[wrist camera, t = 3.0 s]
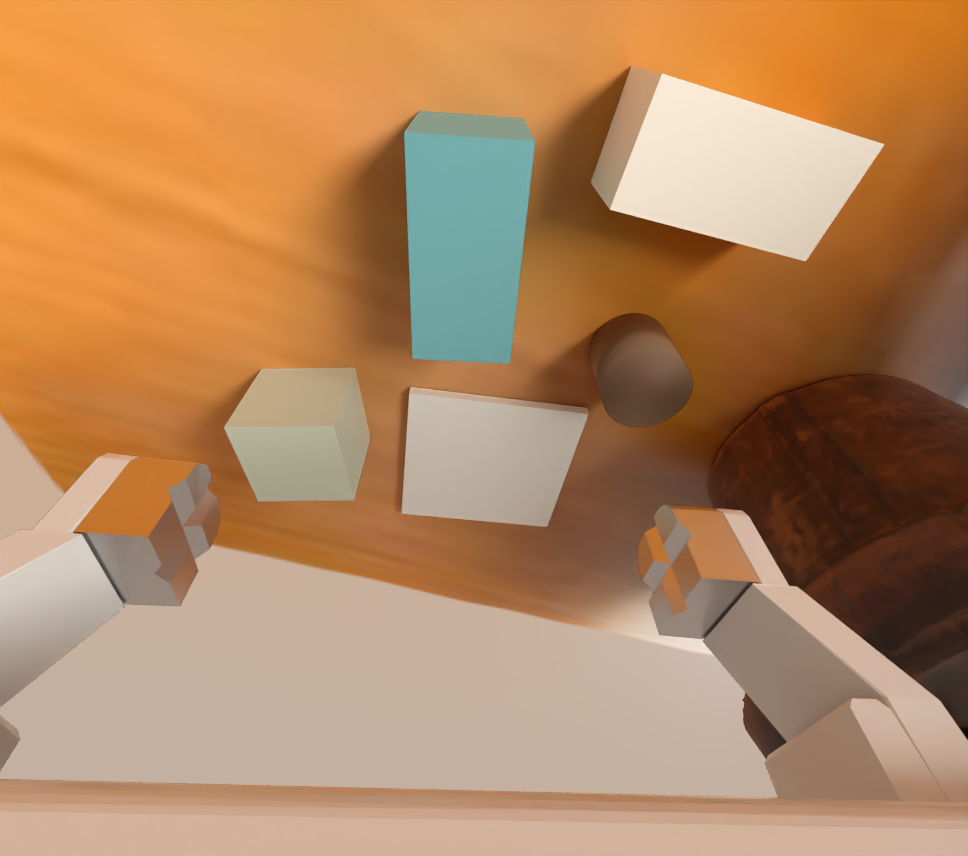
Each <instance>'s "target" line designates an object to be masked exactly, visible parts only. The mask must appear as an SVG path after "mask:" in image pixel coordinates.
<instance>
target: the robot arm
mask: <svg viewBox="0 0 968 856" xmlns="http://www.w3.org/2000/svg"><path fill="white" fill-rule="evenodd" d="M211 480H212V477H211V474H210V471H209V468H208V465H206V464H203V463H198V462H189V461H180V460H171V459H162V458H154V457H145V456H131V455H123V454H114V453H107V454H104V455H102V456H100V457H98V458H96V459H95V460H94V462H93V463H92V464H91V465H90V466H89V467H88V468H87V469H86V471H85V472H84V473H83V474H82V475H81V476H80V477H79V478H78V479H77V481H76V482H75V483H74V484H73V485H72V486H71V487H70V488H69V489H68V491H67V492H66V493H65V494H64V495H63V496H62V498H61V499H60V500H59V501H58V502H57V503H56V504H55V505H54V506H53V507H52V508H51V509H50V511H49V512H48V513H47V514H46V515H45V516H44V517H43V518H42V520H41V521H40V522H39V523H38V524H37V525H36V526H35V527H34V528H33V529H32V530H22V529H21V530H19V531H17V532H15V533H13V534H11V535H9V536H7V537H5V538H3V539H1V540H0V707H1V706H2V705H4V704H5V703H6V702H7V701H8V700H10V699H11V698H12V697H14V696H15V695H16V694H17V693H18V692H20V691H21V690H22V689H23V688H25V687H26V686H27V685H28V684H30V683H31V682H32V681H33V680H35V679H36V678H37V677H38V676H40V675H41V674H42V673H43V672H45V671H46V670H47V669H48V668H50V667H51V666H52V665H53V664H55V663H56V662H57V661H58V660H60V659H61V658H62V657H63V656H65V655H66V654H67V653H68V652H70V651H71V650H72V649H73V648H74V647H76V646H77V645H78V644H79V643H81V642H82V641H83V640H85V639H86V638H87V637H88V636H89V635H91V634H92V633H93V632H94V631H96V630H97V629H98V628H99V627H100V626H102V625H103V624H104V623H105V622H107V621H108V620H109V619H111V618H112V617H113V616H114V615H116V614H117V613H118V612H119V611H121V610H122V609H123V608H124V604H133V605H162V606H180V605H181V603H182V601H183V600H184V597H185V596H186V594H187V592H188V590H189V588H190V586H191V584H192V582H193V580H194V578H195V576H196V575H197V573H198V569H197V566H196V562H195V559H196V558H197V557H199V556H200V555H201V554H203V553H204V552H206V551H207V550H209V549H210V547H211V545H212V543H213V541H214V539H215V537H216V535H217V531H218V527H219V522H220V504H219V500H218V497H217V496H216V495H215V494H214V493H212V492H211V491H210V490H209V489H208V488H207V487H208V485H209V484H210V482H211ZM653 518H654V521H655V523H656V526H655V527H653V528H651V529H650V530H648V531H646V532H645V533H644V535H643V537H642V539H641V541H640V543H639V549H638V566H639V571H640V574H641V578H642V581H643V582H644V583H645V584H646V585H647V586H648V587H649V588H650V589H651V590H652V591H653V593H652V596H651V598H650V600H649V604H650V607H651V610H652V613H653V616H654V620H655V623H656V626H657V629H658V632H659V635H664V636H675V637H686V638H698V639H704V640H703V642H704V643H705V645H706V646H707V647H708V648H709V649H710V651H711V652H712V653H713V654H714V655H715V656H716V658H717V659H718V660H719V661H720V662H721V664H722V665H723V666H724V667H725V668H726V670H727V671H728V672H729V673H730V674H731V676H732V677H733V678H734V679H735V680H736V682H737V683H738V684H739V685H740V686H741V687H742V689H743V690H744V691H745V692H746V694H747V695H748V696H749V697H750V698H751V699H752V701H753V702H754V703H755V704H756V705H757V707H758V708H759V709H760V710H761V711H762V713H763V714H764V715H765V716H766V717H767V719H768V720H769V721H770V722H771V723H772V725H773V726H774V727H775V728H776V729H777V731H778V732H779V733H780V734H781V735H782V737H783V738H784V739H785V740H786V741H787V743H785V744H784V745H782V746H781V747H780V748H778V749H777V750H775V751H774V752H772V753H771V754H769V755H768V757H767V759H766V761H765V765H766V768H767V770H768V773H769V775H770V778H771V780H772V783H773V785H774V788H775V791H776V793H777V796H778V798H771V797H728V796H726V797H725V796H686V795H685V796H684V795H645V794H644V795H641V794H604V793H561V792H560V793H559V792H519V791H518V792H517V791H478V790H477V791H476V790H437V789H395V788H354V787H353V788H352V787H311V786H270V785H266V786H265V785H227V784H186V783H185V784H184V783H143V782H104V781H103V782H102V781H100V782H99V781H62V780H20V779H0V856H968V740H967V739H966V737H965V736H964V734H963V733H962V731H961V730H960V729H959V727H958V726H957V724H956V723H955V721H954V720H953V719H952V717H951V716H950V714H949V713H948V711H947V710H946V709H945V707H944V706H943V704H942V703H941V701H940V700H939V699H937V698H936V697H935V696H934V695H932V694H931V693H930V692H929V691H927V690H926V689H925V688H924V687H922V686H921V685H920V684H919V683H917V682H916V681H915V680H914V679H912V678H911V677H910V676H909V675H907V674H906V673H905V672H903V671H902V670H901V669H900V668H898V667H897V666H896V665H895V664H893V663H892V662H891V661H890V660H888V659H887V658H886V657H885V656H883V655H882V654H881V653H880V652H878V651H877V650H876V649H875V648H873V647H872V646H871V645H870V644H868V643H867V642H866V641H865V640H863V639H862V638H861V637H860V636H858V635H857V634H856V633H855V632H853V631H852V630H851V629H850V628H848V627H847V626H846V625H845V624H843V623H842V622H841V621H840V620H838V619H837V618H836V617H835V616H833V615H832V614H831V613H830V612H828V611H827V610H826V609H825V608H823V607H822V606H821V605H820V604H818V603H817V602H816V601H814V600H813V599H812V598H811V597H809V596H808V595H807V594H806V593H804V592H803V591H802V590H801V589H799V588H798V587H795V586H789V585H788V583H787V581H786V580H785V578H784V576H783V574H782V573H781V571H780V569H779V567H778V566H777V564H776V562H775V561H774V559H773V557H772V555H771V554H770V552H769V550H768V548H767V547H766V545H765V543H764V541H763V540H762V538H761V536H760V535H759V533H758V531H757V529H756V528H755V526H754V524H753V522H752V521H751V519H750V517H749V516H748V515H747V514H746V513H744V512H743V511H742V510H729V509H717V508H716V509H713V508H706V507H693V506H681V505H668V504H664V505H663V506H661V507H660V508H658V510H657V512H656V513H655V515H654V517H653ZM19 741H20V737H19V733H18V730H17V729H16V728H15V727H14V726H13V725H11V724H10V723H9V722H8V721H6V720H5V719H4V718H3V717H2V716H0V771H1V769H2V768H3V766H4V764H5V763H6V761H7V760H8V758H9V757H10V755H11V753H12V752H13V750H14V749H15V747H16V745H17V744H18V742H19Z"/></svg>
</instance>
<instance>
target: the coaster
mask: <svg viewBox="0 0 968 856" xmlns="http://www.w3.org/2000/svg"><path fill="white" fill-rule="evenodd" d="M588 415H589V414H588V410H587V408H586V407H577V406H569V405H560V404H552V403H543V402H535V401H526V400H518V399H509V398H501V397H492V396H484V395H476V394H467V393H459V392H450V391H442V390H433V389H425V388H416V387H410V392H409V404H408V420H407V436H406V452H405V467H404V483H403V499H402V514H411V515H422V516H433V517H444V518H455V519H466V520H476V521H487V522H498V523H509V524H520V525H531V526H542V527H547V526H548V524H549V521H550V518H551V515H552V513H553V510H554V507H555V504H556V502H557V499H558V496H559V494H560V491H561V488H562V485H563V483H564V480H565V477H566V475H567V472H568V469H569V466H570V464H571V461H572V458H573V455H574V453H575V450H576V447H577V445H578V442H579V439H580V436H581V434H582V431H583V428H584V425H585V423H586V420H587V417H588Z"/></svg>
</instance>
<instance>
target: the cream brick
mask: <svg viewBox="0 0 968 856" xmlns="http://www.w3.org/2000/svg"><path fill="white" fill-rule="evenodd" d="M884 145H885V144H882V143H879V142H876V141H872V140H869V139H866V138H863V137H860V136H857V135H854V134H850V133H847V132H844V131H841V130H838V129H835V128H832V127H828V126H825V125H822V124H819V123H816V122H813V121H809V120H806V119H803V118H800V117H797V116H794V115H791V114H787V113H784V112H781V111H778V110H775V109H772V108H769V107H765V106H762V105H759V104H756V103H753V102H750V101H746V100H743V99H740V98H737V97H734V96H731V95H728V94H724V93H721V92H718V91H715V90H712V89H709V88H706V87H702V86H699V85H696V84H693V83H690V82H687V81H684V80H680V79H677V78H674V77H671V76H668V75H665V74H661V73H658V72H654V71H650V70H646V69H642V68H638V67H635V66H631V68H630V71H629V74H628V77H627V80H626V83H625V86H624V88H623V91H622V94H621V97H620V100H619V103H618V106H617V109H616V111H615V114H614V117H613V120H612V123H611V126H610V129H609V131H608V134H607V137H606V140H605V143H604V146H603V149H602V151H601V154H600V157H599V160H598V163H597V166H596V169H595V171H594V174H593V177H592V180H591V184H592V185H593V187H594V188H595V190H596V191H597V192H598V194H599V195H600V197H601V198H602V199H603V201H604V202H605V204H606V205H607V206H608V208H609V209H610V210H613V211H617V212H621V213H624V214H628V215H632V216H636V217H640V218H643V219H647V220H651V221H655V222H658V223H662V224H666V225H670V226H674V227H677V228H681V229H685V230H689V231H693V232H696V233H700V234H704V235H708V236H711V237H715V238H719V239H723V240H727V241H730V242H734V243H738V244H742V245H745V246H749V247H753V248H757V249H761V250H764V251H768V252H772V253H776V254H779V255H783V256H787V257H791V258H795V259H798V260H802V261H806V260H807V259H808V257H809V256H810V254H811V253H812V251H813V250H814V248H815V247H816V245H817V244H818V242H819V241H820V240H821V238H822V237H823V235H824V234H825V232H826V231H827V229H828V228H829V226H830V225H831V223H832V222H833V220H834V219H835V217H836V216H837V214H838V213H839V211H840V210H841V208H842V207H843V205H844V204H845V202H846V201H847V199H848V198H849V196H850V195H851V194H852V192H853V191H854V189H855V188H856V186H857V185H858V183H859V182H860V180H861V179H862V177H863V176H864V174H865V173H866V171H867V170H868V168H869V167H870V165H871V164H872V162H873V161H874V159H875V158H876V156H877V155H878V153H879V152H880V151H881V149H882V148H883V146H884Z"/></svg>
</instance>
